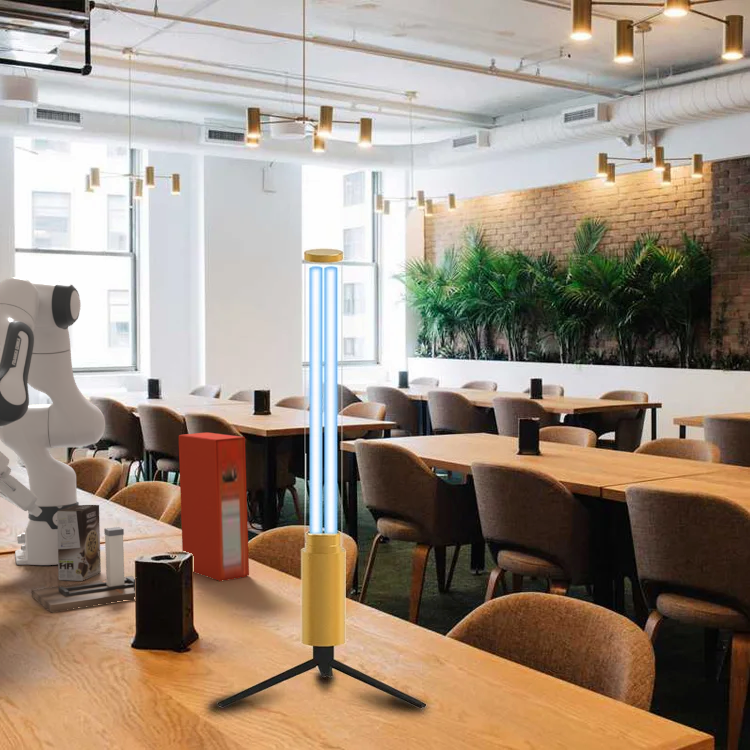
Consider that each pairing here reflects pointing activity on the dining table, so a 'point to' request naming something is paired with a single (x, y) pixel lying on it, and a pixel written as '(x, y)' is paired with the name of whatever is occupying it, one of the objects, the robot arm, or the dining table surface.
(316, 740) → the dining table surface
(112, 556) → the fader tab
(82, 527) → the coffee box
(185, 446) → the file binder
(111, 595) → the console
